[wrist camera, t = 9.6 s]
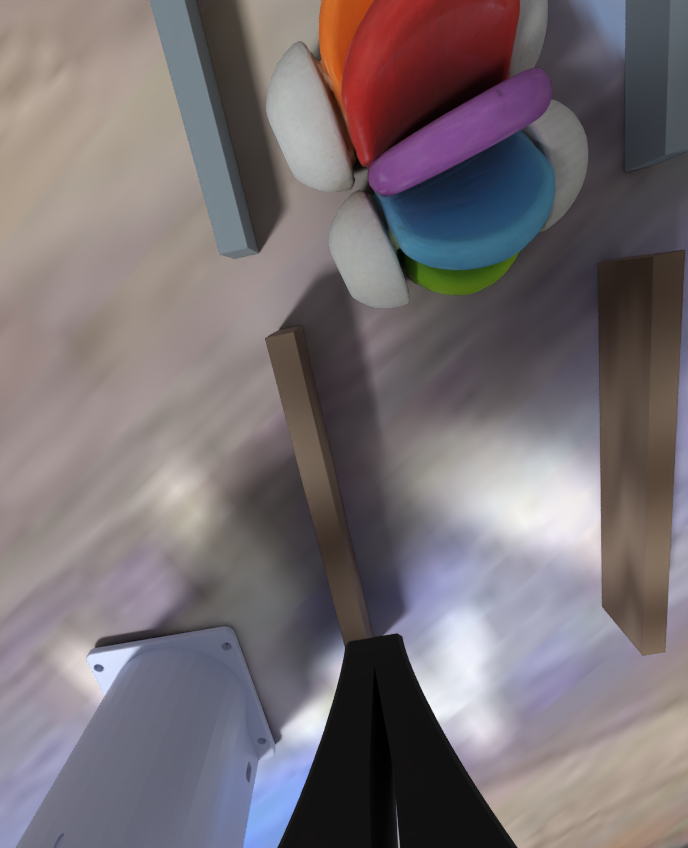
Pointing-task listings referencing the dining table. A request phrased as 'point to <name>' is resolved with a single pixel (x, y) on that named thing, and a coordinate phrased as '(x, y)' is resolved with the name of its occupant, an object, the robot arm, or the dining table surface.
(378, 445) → the dining table surface
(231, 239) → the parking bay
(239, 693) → the robot arm
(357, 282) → the multicolored rounded disc cluster
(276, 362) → the lane rails
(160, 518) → the dining table surface
